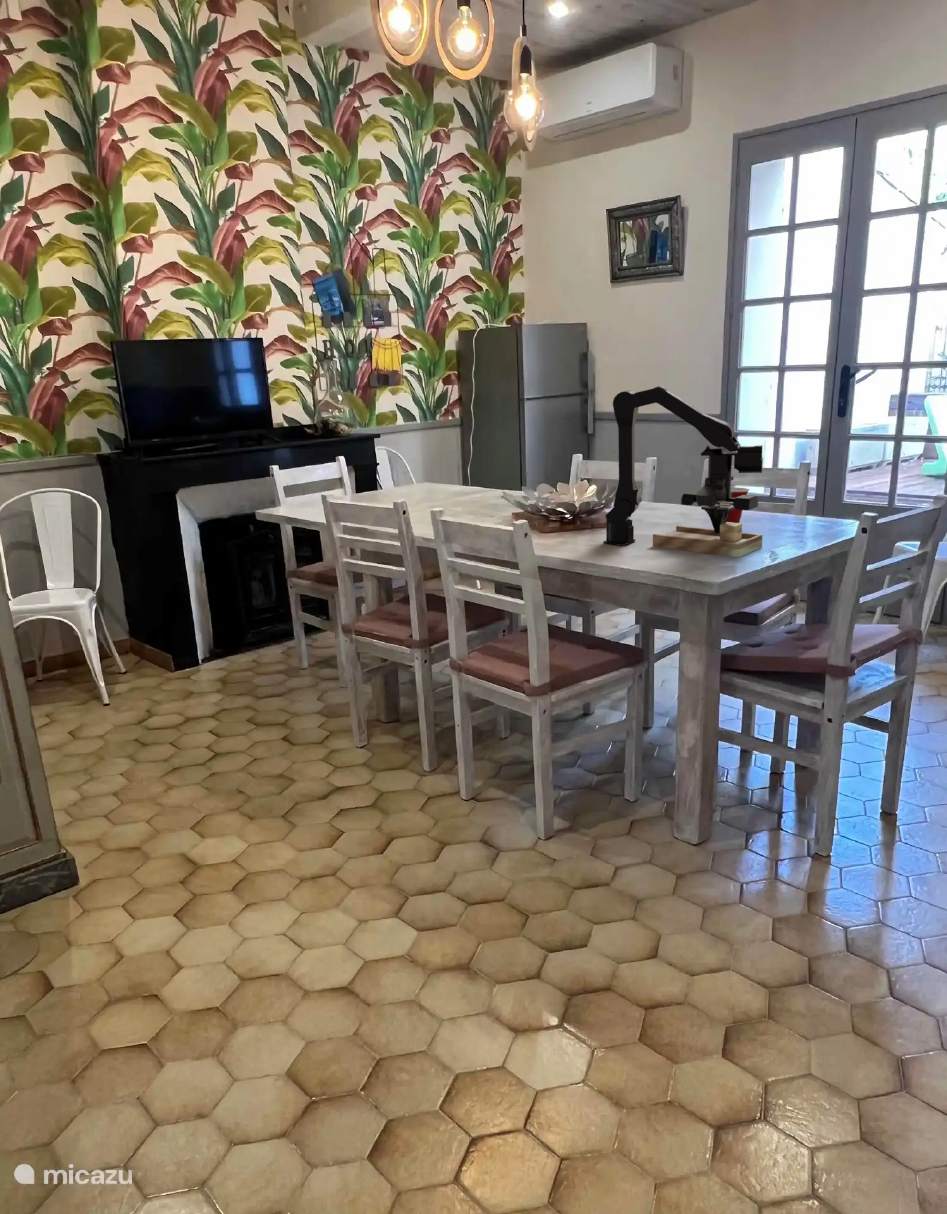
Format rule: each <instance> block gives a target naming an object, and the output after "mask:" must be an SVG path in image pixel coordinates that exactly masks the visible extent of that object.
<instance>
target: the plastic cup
mask: <svg viewBox="0 0 947 1214" xmlns="http://www.w3.org/2000/svg"><path fill="white" fill-rule="evenodd" d="M749 491H750V488H745V487H735V486H731V492H733V496H731V497H730V498H736V497H739V496H742V495H748V492H749ZM717 505H720V504H717ZM742 514H743V510H738V509H733V510H731V512H730V514H729V515H728V517H727V519H726V521H725V523H726V522H732V523H741V517H742Z"/></svg>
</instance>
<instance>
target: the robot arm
mask: <svg viewBox="0 0 947 1214" xmlns="http://www.w3.org/2000/svg"><path fill="white" fill-rule="evenodd" d="M653 404H658V405H660V406H661V407H663V408H664V409H666V410H667V411H669V412H671V413H673V415H675V416H677V417H678V418H680V419H681V420H683V421H684V422H685V423H688V424H689V425H691V426H693V428H695V429H696V430H697V431H698V432H699V433H700V434H701V435H702V437H704V439H706V441H708V442H709V443H710V444H711V446H713V447H716V448H712V447H711V446H710V445H706V447H705V449H704V450H702V451H701V453H700V456H702V457H704V456H705V457H707V456H708V458H707V459H708V461H707V462H708V463H707V464H708V465H707V477H705V478H704V479H705V480H704V485H703V486H701V488H700V489H698V491H695V490H694V491H693V490H691V491H688V492H683V493H682V494H681V497H680V505H684V506H692V505H693V504H695V503H696V504H697V506H698V507H700V509H701V510H703V511H704V512H705V513H707V515H708V516H709V519H710V521H711V525H712V527H713V530H714V531H715V533H716V534H719V533H720V525H721V524H724V523H725V521H726V519H727V517H728V515H729V514H730V512H731V510H733V509H738V510H742V511H750V510H753V509H756V508H758V507H759V499H758V497H757V496H756V495H748V494H747V495H742V496H739V497H736V498H730V497H731V496H733V492H731V487H732V481H734V475H732V469H733V468H734V470H736V471H738V474H762V473H763V465H764V457H763V445H762V444H761V445H760V444H758V445H750V446H749V445H746V446H745V445H743V446H742V445H741V444H740V442H739V441H738V440H737V439H736V437H735V436H734V428H733V426H732V425H731V424H730V423H729V422H726V421H724V420H721V419H719V418H717V417H714V416H711V415H709V414H706V413H703V412H702V411H701V410H699V409H698V408H696V407H694V406H693V405H691V404H690V403H688V402H687V401H685V400H683V399H682V398H680V397H679V396H677V395H676V394H674V393H672V392H671V391H669V390H668V389H667V388H666V387H665V386H662V385H658V386H656V387H654V388H649V389H645V390H641V391H637V392H635V391H633V390H629V389H628V390H623V391H620V392H619V393H616V395H615V396H614V398H613V401H612V407H613V412H614V418H615V422H616V425H617V428H618V429H617V431H618V436H617V437H618V438H617V439H618V483H617V487H616V491H615V496H614V502H613V507H612V509H610V510H609V511H608V512H607V513H606V514H605V519H606V532H605V533H606V539H605V540H603V541H602V543H603V544H607V545H615V546H627V545H628V544H631V543H634V542H636V539H634V532H635V531H634V530H635V529H634V525H633V519H630V518H631V517H632V515H633V513H634V512H635V511H637V509H638V508H639V506H640V503H642V501H643V499H642V485H640V486H637V483H636V480H635V425H636V422H637V418H638V413H639V408H641V407H644V406H648V405H653ZM724 449H725V450H727V451H724ZM733 457H734V458H733ZM733 459H734V462H733ZM732 464H733V466H732ZM732 467H733V468H732ZM717 504H720V505H717Z"/></svg>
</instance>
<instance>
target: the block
mask: <svg viewBox="0 0 947 1214" xmlns="http://www.w3.org/2000/svg"><path fill="white" fill-rule="evenodd" d="M742 533H743V523H741V522H739V523H732V522H726V523H724V524H721V525H720V540H723V541H731V542H735V541H738V540H740V539H741V538H742Z"/></svg>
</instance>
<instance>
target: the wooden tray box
mask: <svg viewBox="0 0 947 1214" xmlns="http://www.w3.org/2000/svg"><path fill="white" fill-rule="evenodd" d="M675 528H676V529H675V530H674V531H672V532H668V533H665V534H657V533H653V534H652V547H655V548H663V549H670V550H671V549H672V550H680V551H687V552H694V553H701V554H711V555H718V556H726V557H733V558H734V557H735V558H741V557H743V556H745V555H748V554H750V553H751V552H754V551H757V550H758V549H759V550H760V549H761V548H763V534H758V533H751V532H750V533H748V532H742V538H741V539H740V540H738V541H735V542H731V541H723V540H720V533H719V534H716V533H715V531H714V528H713V529H712V528H711V529H710V528H704V527H702V528H701V527H693V526H683V525H676V527H675Z"/></svg>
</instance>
